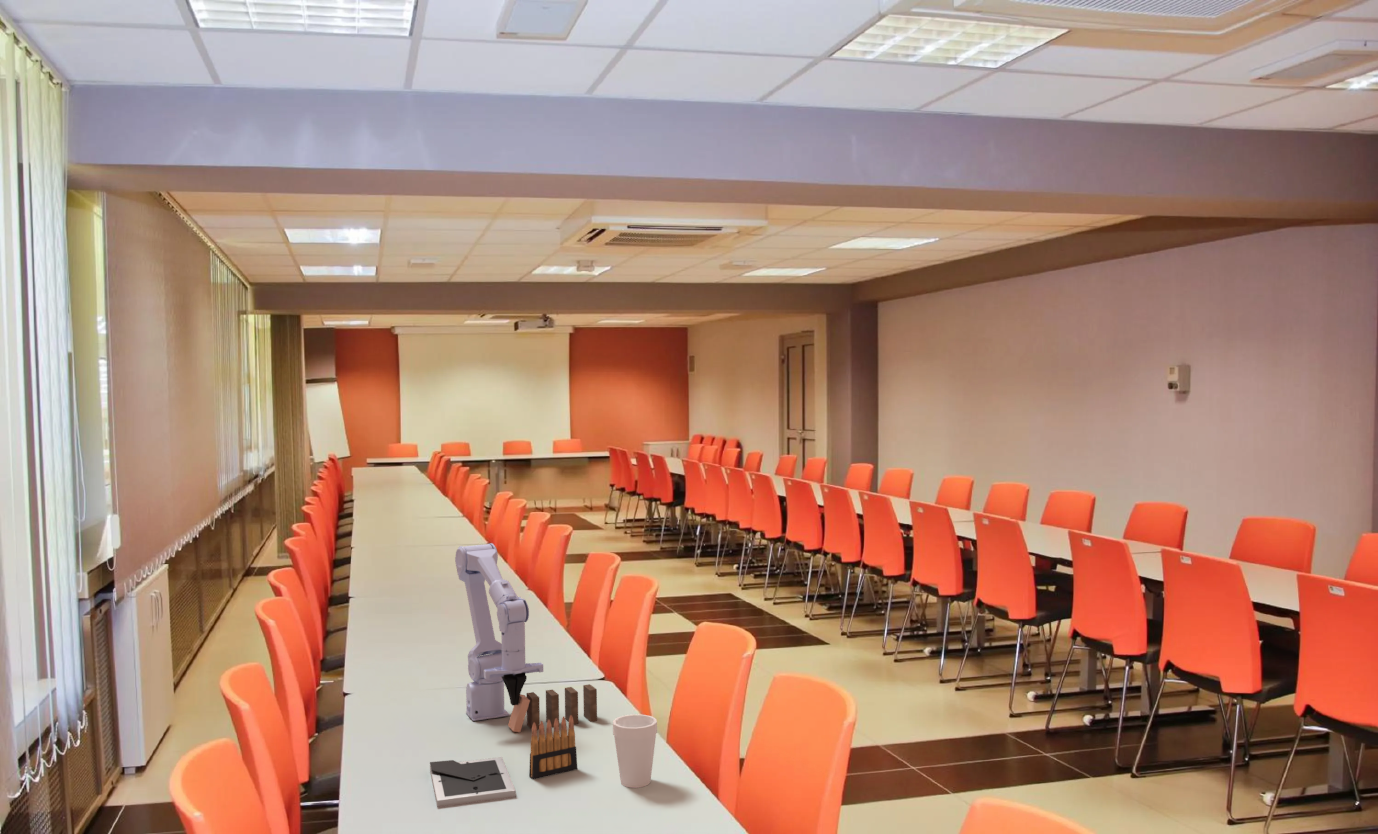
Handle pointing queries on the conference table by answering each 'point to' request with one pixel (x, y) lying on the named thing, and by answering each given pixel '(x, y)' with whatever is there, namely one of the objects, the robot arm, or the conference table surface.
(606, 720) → the conference table surface
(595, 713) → the brown flat block
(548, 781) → the conference table surface
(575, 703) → the tile
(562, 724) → the ammunition clip
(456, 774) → the picture frame
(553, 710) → the tile
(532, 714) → the brown rectangular block
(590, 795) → the conference table surface
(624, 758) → the foam cup
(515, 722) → the tile
